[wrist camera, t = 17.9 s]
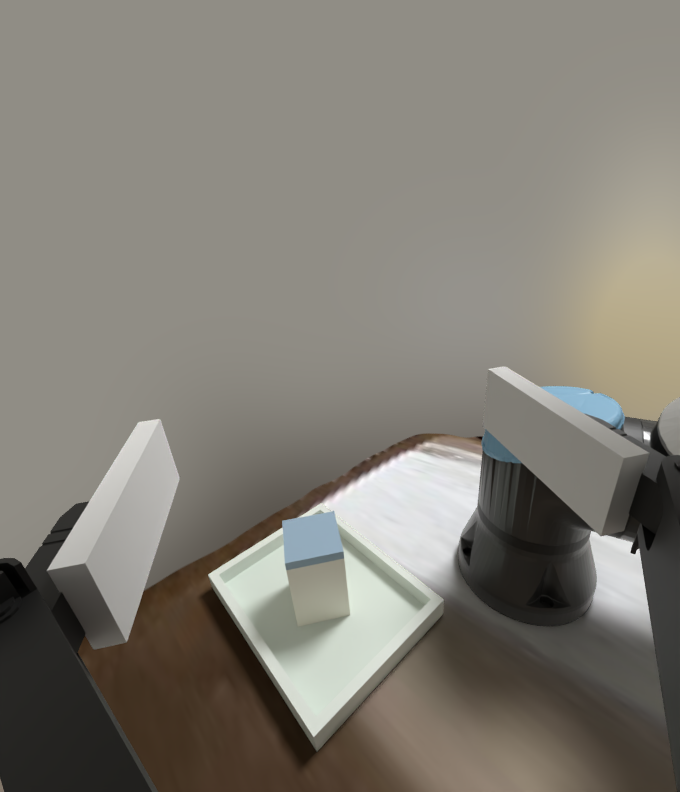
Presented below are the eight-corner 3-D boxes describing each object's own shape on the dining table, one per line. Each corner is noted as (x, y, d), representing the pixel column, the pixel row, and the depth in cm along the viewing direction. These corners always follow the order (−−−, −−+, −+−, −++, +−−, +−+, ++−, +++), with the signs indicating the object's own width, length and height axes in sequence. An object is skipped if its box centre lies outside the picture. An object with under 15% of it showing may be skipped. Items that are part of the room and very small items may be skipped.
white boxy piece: (340, 571, 48) (334, 511, 44) (350, 614, 43) (343, 551, 39) (293, 581, 47) (282, 521, 43) (297, 626, 42) (284, 563, 38)
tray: (323, 515, 58) (321, 503, 57) (443, 614, 43) (444, 599, 42) (212, 588, 48) (208, 574, 47) (316, 751, 33) (313, 737, 32)
